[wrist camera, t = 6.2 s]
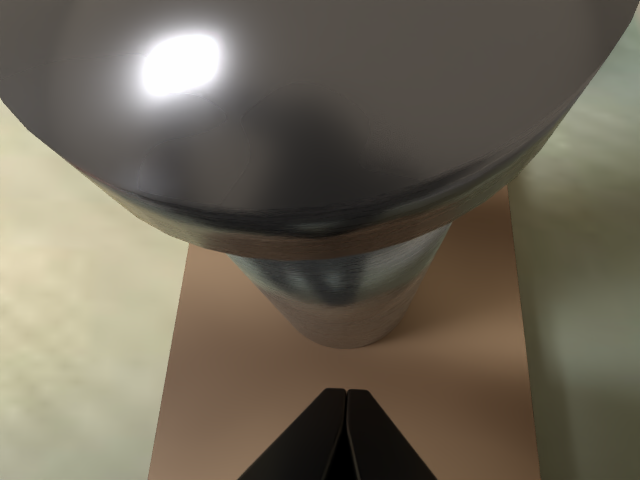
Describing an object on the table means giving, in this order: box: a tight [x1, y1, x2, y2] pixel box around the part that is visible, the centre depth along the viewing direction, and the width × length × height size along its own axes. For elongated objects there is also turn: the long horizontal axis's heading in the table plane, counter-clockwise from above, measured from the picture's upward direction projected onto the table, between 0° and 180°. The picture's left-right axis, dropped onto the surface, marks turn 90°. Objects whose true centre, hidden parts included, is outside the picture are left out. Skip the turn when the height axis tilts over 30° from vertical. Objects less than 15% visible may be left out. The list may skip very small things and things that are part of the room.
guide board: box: [148, 185, 541, 480], centre depth 15 cm, size 23×11×1 cm, turn 177°
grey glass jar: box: [0, 0, 640, 349], centre depth 8 cm, size 5×5×11 cm
